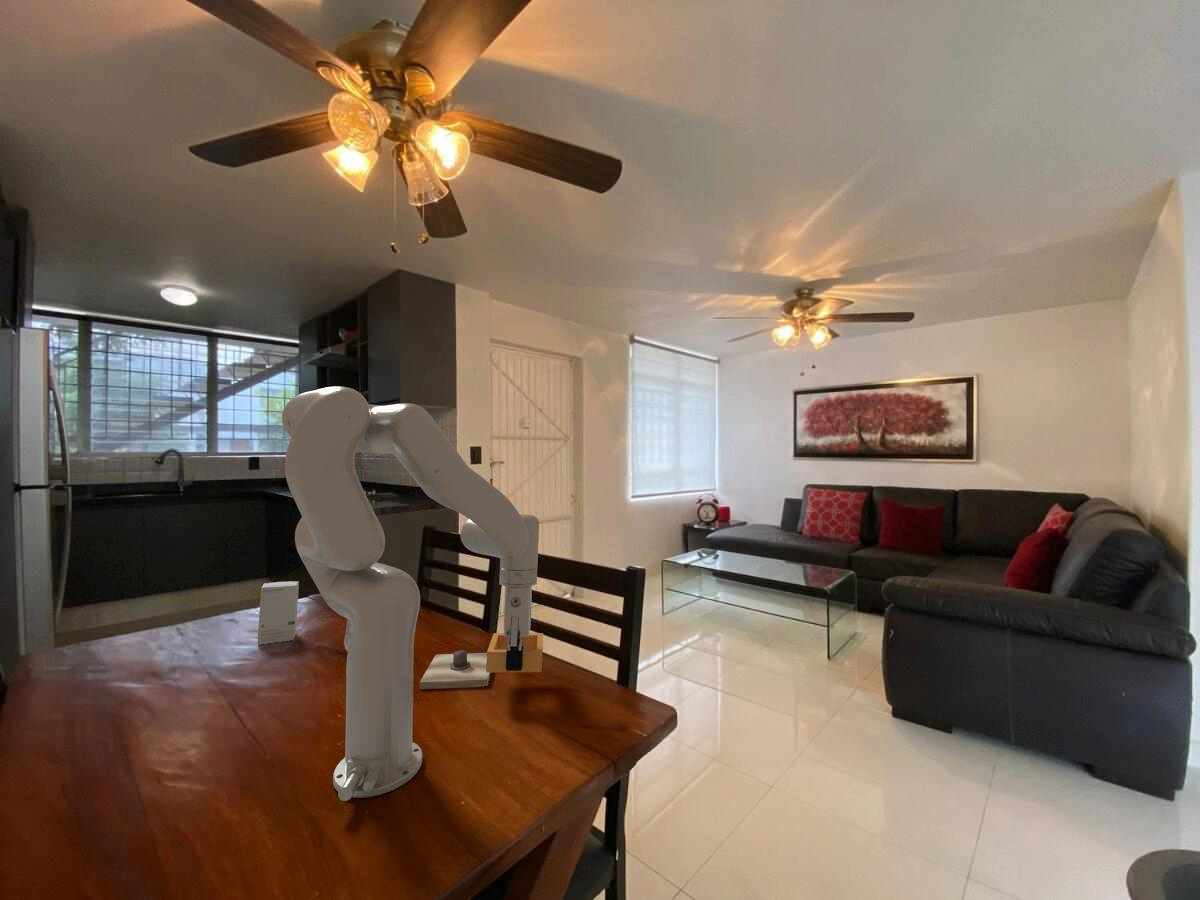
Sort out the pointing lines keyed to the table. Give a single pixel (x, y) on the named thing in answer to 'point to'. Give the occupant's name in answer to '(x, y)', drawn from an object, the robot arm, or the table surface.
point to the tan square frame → (530, 653)
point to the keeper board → (456, 671)
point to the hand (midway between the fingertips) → (514, 667)
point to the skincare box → (278, 612)
